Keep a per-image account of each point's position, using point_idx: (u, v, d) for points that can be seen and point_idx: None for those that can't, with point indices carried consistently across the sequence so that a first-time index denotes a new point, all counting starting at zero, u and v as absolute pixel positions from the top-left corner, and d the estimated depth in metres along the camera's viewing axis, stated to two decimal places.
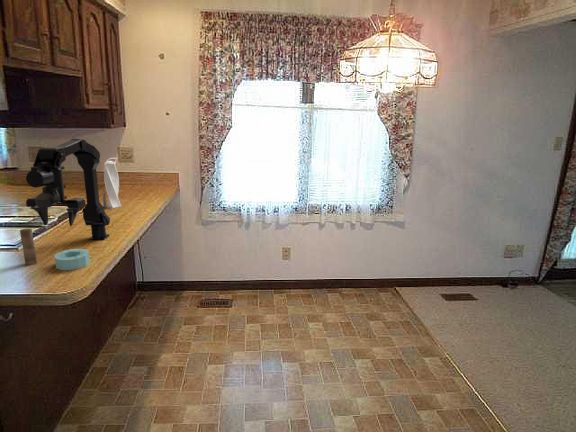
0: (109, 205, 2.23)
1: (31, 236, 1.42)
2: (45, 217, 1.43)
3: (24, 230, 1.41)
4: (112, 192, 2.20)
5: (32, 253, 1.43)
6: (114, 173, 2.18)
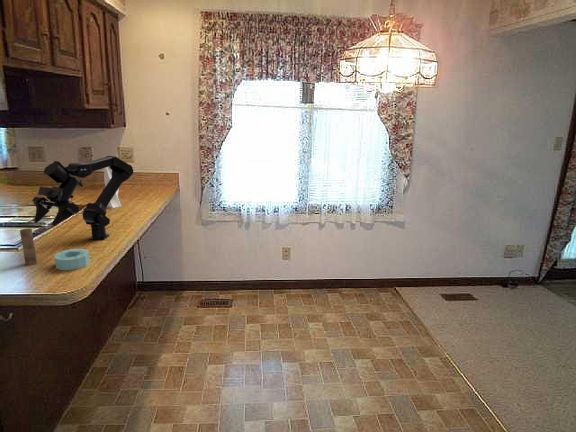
0: (109, 205, 2.23)
1: (31, 236, 1.42)
2: (39, 216, 1.51)
3: (24, 230, 1.41)
4: None
5: (32, 253, 1.43)
6: None
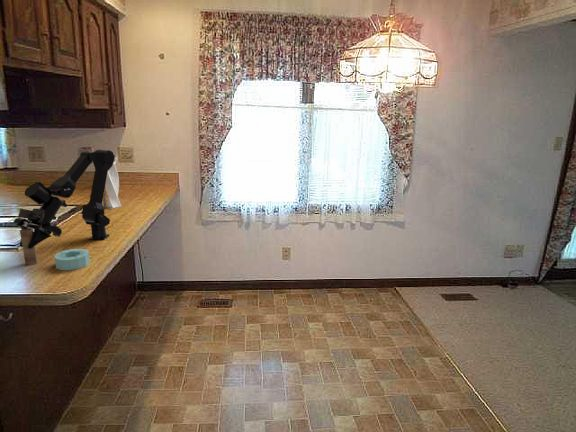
0: (109, 205, 2.23)
1: (31, 236, 1.42)
2: None
3: (24, 230, 1.41)
4: (112, 192, 2.20)
5: (32, 253, 1.43)
6: (114, 173, 2.18)
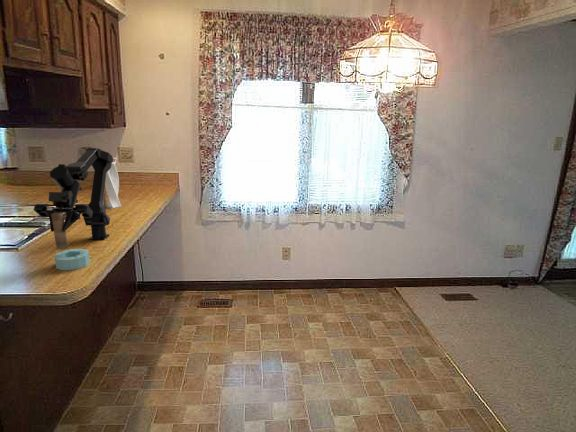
0: (109, 205, 2.23)
1: (63, 219, 1.41)
2: None
3: (56, 214, 1.39)
4: (112, 192, 2.20)
5: (64, 237, 1.41)
6: (114, 173, 2.18)
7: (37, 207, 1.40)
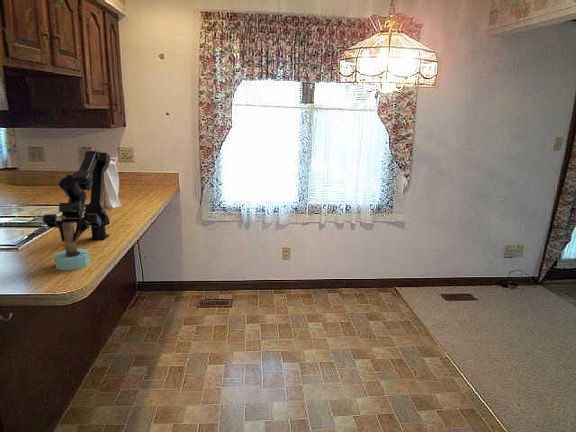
0: (109, 205, 2.23)
1: None
2: None
3: (67, 224, 1.40)
4: (112, 192, 2.20)
5: (75, 246, 1.43)
6: (114, 173, 2.18)
7: (46, 218, 1.41)
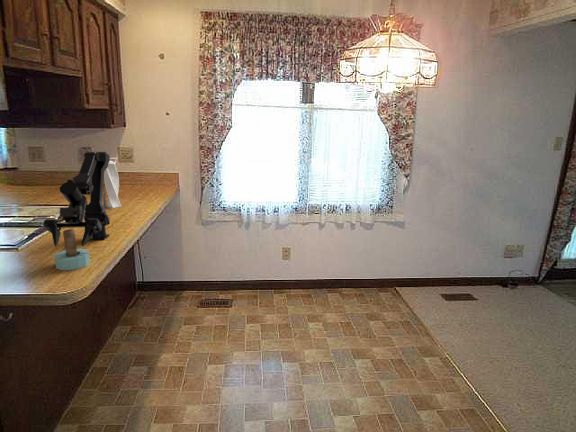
0: (109, 205, 2.23)
1: (74, 236, 1.43)
2: (57, 239, 1.43)
3: (68, 231, 1.41)
4: (112, 192, 2.20)
5: (76, 253, 1.44)
6: (114, 173, 2.18)
7: (47, 223, 1.42)
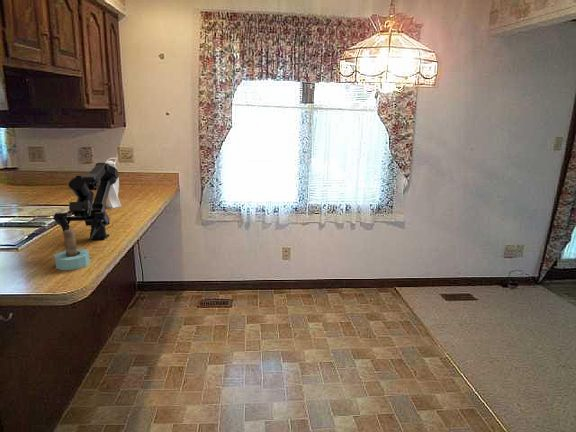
0: (109, 205, 2.23)
1: None
2: None
3: (68, 231, 1.41)
4: (112, 192, 2.20)
5: (76, 253, 1.44)
6: None
7: (57, 216, 1.50)
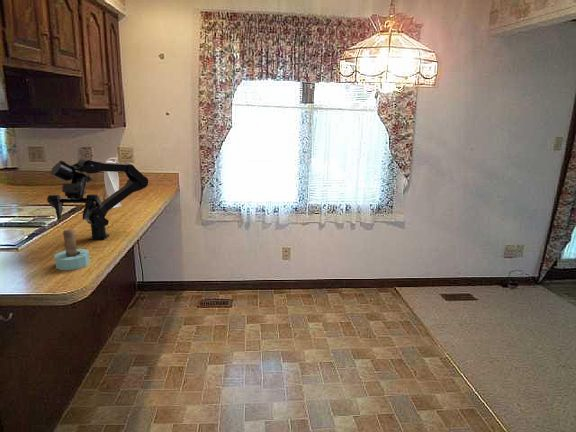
0: None
1: (74, 236, 1.43)
2: (59, 213, 1.54)
3: (68, 231, 1.41)
4: (112, 192, 2.20)
5: (76, 253, 1.44)
6: (114, 173, 2.18)
7: (50, 198, 1.54)
